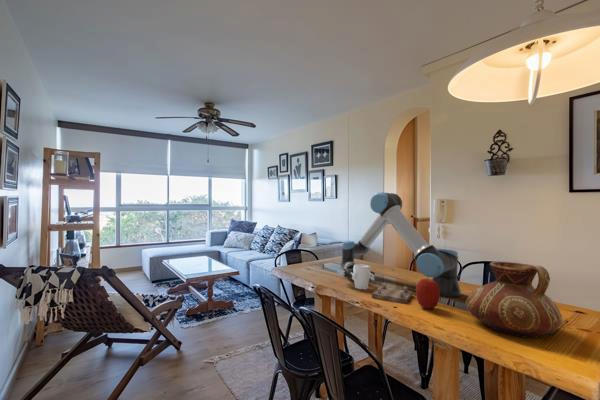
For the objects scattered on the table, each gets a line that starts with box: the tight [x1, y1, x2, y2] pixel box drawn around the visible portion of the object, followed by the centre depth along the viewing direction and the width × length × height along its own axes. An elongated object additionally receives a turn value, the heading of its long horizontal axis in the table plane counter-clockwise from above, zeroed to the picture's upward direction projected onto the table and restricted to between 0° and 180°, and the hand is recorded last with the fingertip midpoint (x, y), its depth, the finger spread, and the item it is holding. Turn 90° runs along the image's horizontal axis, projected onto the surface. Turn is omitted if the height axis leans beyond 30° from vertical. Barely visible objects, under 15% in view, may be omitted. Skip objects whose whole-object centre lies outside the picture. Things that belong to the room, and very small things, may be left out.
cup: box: [353, 263, 371, 290], centre depth 168 cm, size 9×9×12 cm
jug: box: [465, 261, 563, 338], centre depth 119 cm, size 30×30×25 cm
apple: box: [415, 278, 441, 310], centre depth 137 cm, size 10×10×14 cm
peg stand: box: [371, 283, 413, 305], centre depth 153 cm, size 16×16×4 cm
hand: (364, 277), depth 163 cm, fingers open, 10 cm apart
